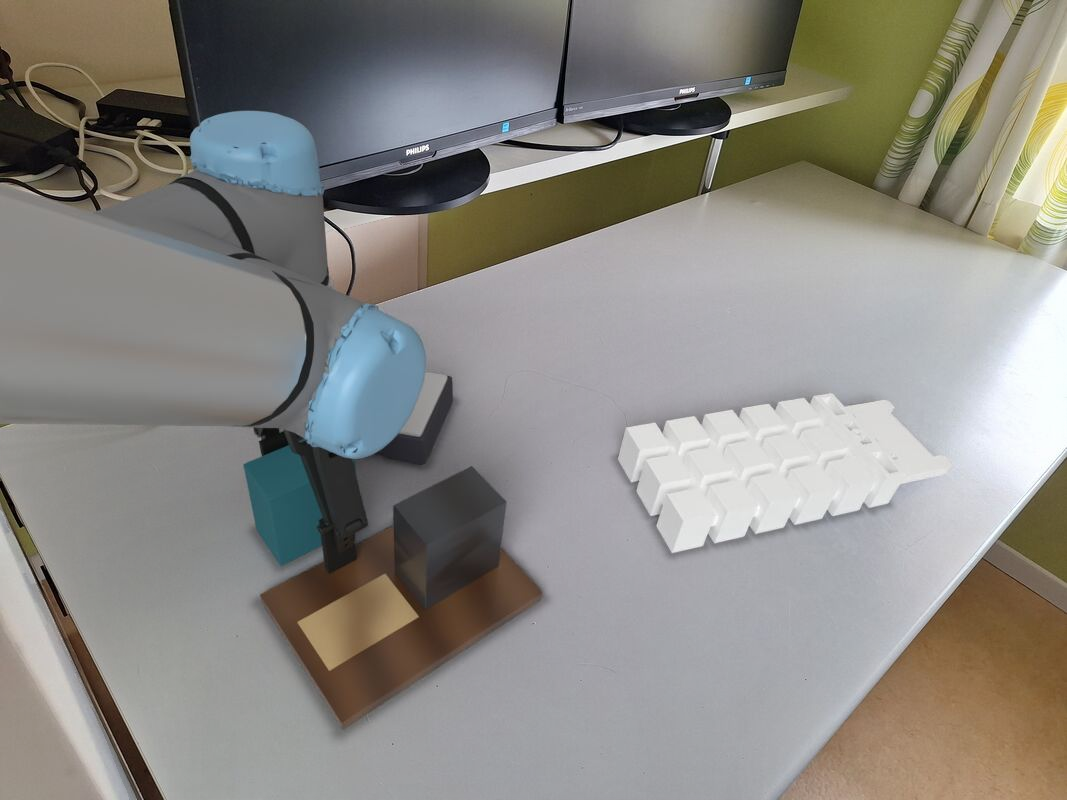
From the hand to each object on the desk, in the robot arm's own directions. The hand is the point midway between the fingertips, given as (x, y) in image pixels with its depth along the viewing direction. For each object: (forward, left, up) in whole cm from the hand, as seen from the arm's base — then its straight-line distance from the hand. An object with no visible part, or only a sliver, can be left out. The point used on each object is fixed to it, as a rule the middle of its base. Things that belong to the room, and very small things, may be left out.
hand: (310, 523), depth 71 cm
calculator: (+13, +11, -2) cm, 17 cm away
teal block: (0, +1, -1) cm, 1 cm away
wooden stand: (+3, -11, -1) cm, 12 cm away
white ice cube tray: (+46, -22, -2) cm, 51 cm away
